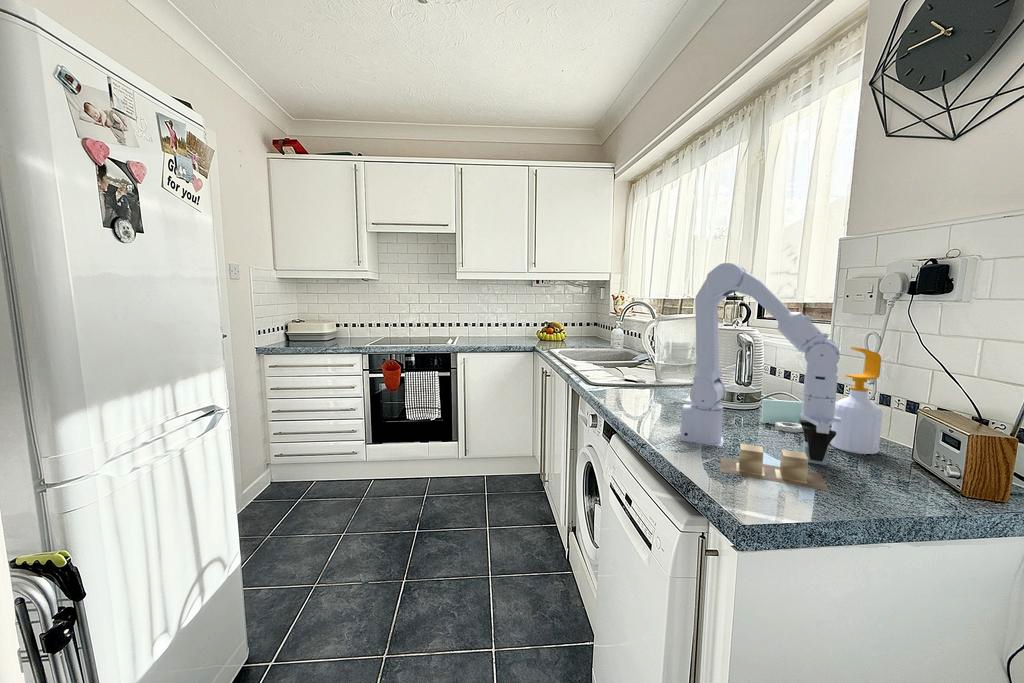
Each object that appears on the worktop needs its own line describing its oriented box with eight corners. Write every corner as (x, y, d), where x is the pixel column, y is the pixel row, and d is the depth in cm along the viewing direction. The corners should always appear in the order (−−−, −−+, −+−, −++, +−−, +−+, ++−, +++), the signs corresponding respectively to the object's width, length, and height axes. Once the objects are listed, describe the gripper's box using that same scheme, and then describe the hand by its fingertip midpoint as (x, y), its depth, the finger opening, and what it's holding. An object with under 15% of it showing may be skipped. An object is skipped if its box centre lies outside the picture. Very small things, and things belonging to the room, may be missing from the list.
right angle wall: (761, 424, 124) (762, 399, 123) (808, 428, 120) (810, 402, 119) (773, 436, 112) (774, 408, 112) (825, 441, 109) (828, 412, 108)
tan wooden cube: (781, 477, 83) (783, 455, 83) (780, 470, 86) (781, 449, 86) (806, 482, 81) (808, 459, 81) (803, 474, 85) (805, 452, 84)
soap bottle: (821, 442, 106) (829, 345, 104) (858, 442, 106) (867, 345, 104) (848, 455, 98) (857, 349, 95) (889, 455, 97) (899, 349, 95)
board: (719, 474, 86) (719, 471, 86) (721, 459, 94) (721, 457, 94) (828, 493, 77) (828, 490, 77) (820, 476, 85) (820, 473, 85)
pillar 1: (739, 470, 86) (740, 449, 86) (739, 464, 90) (740, 443, 89) (761, 474, 85) (763, 452, 84) (760, 467, 88) (762, 446, 88)
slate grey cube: (804, 464, 92) (805, 446, 91) (801, 458, 95) (802, 441, 95) (826, 467, 90) (828, 449, 89) (823, 461, 93) (824, 444, 93)
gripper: (850, 405, 83) (844, 472, 84) (835, 391, 95) (830, 449, 97) (806, 400, 86) (802, 465, 87) (798, 388, 99) (793, 444, 100)
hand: (814, 456), depth 92 cm, fingers closed on slate grey cube, 4 cm apart
